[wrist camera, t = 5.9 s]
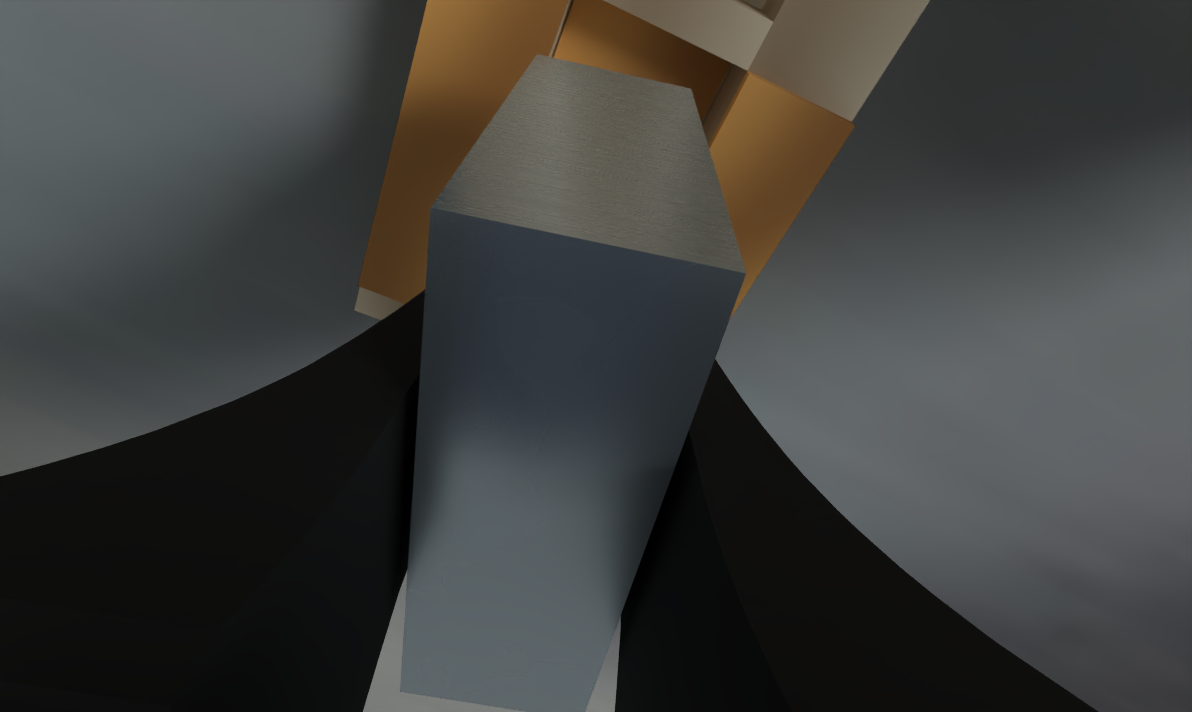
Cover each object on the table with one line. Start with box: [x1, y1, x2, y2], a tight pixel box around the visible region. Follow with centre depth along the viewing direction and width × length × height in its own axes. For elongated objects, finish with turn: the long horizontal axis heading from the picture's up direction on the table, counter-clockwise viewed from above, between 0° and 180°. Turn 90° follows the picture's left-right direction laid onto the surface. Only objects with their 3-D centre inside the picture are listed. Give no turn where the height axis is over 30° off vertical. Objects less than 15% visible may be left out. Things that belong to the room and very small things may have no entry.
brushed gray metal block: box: [400, 54, 746, 712], centre depth 10 cm, size 2×7×6 cm, turn 169°
